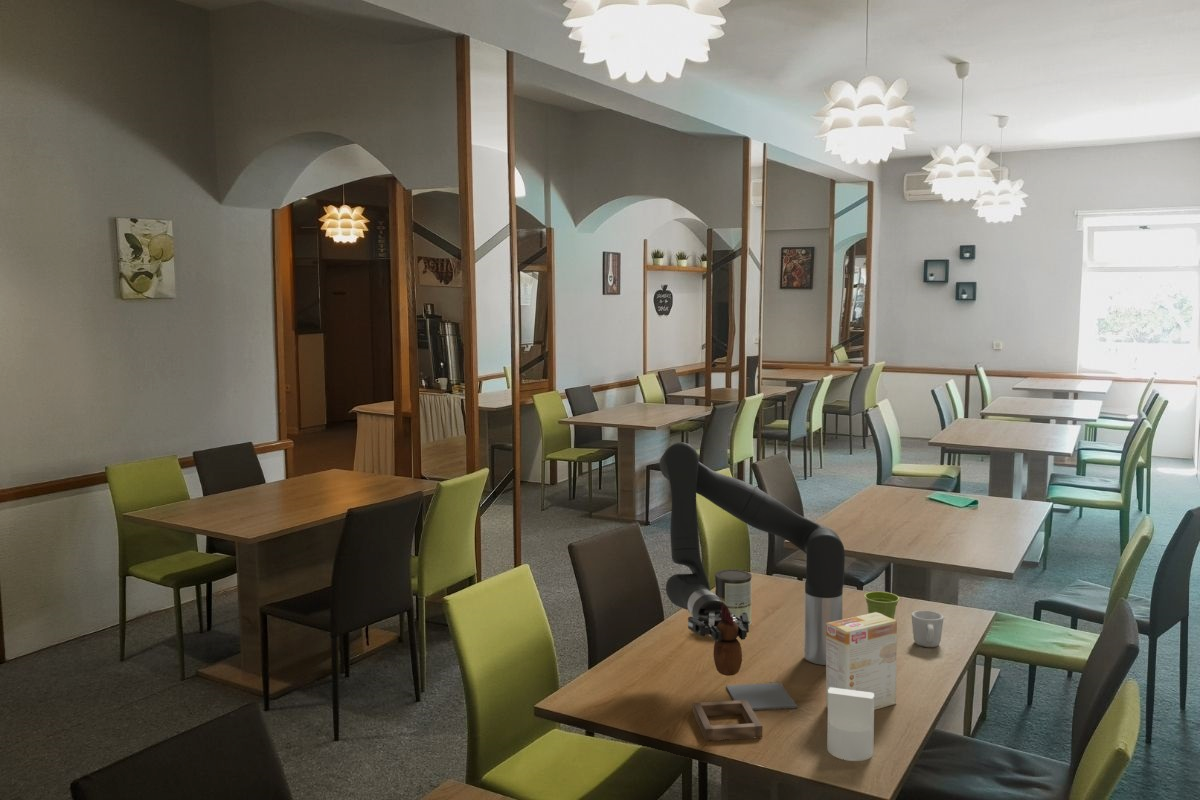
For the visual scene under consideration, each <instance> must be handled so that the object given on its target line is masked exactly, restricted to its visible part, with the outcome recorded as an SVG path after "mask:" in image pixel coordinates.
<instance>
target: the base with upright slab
mask: <svg viewBox="0 0 1200 800" xmlns="http://www.w3.org/2000/svg"><path fill="white" fill-rule="evenodd" d="M874 724H875V710H874V693H871V692H864V691H856V690H848V689H841V688H833V687H830V688H829V689H828V708H827V737H826V738H827V741H826V742H827V746H826V747H827V752H828V753H829V754H830V755H831V756H833V757H835V758H838V759H840V760H843V759H844V760H843V761H849V762H860V761H866V760H869V759H871V758H872V757H873V756H874V742H875V741H874V739H875V738H874V736H875V735H874V733H875V731H874V729H875V727H874V726H875V725H874Z"/></svg>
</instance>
